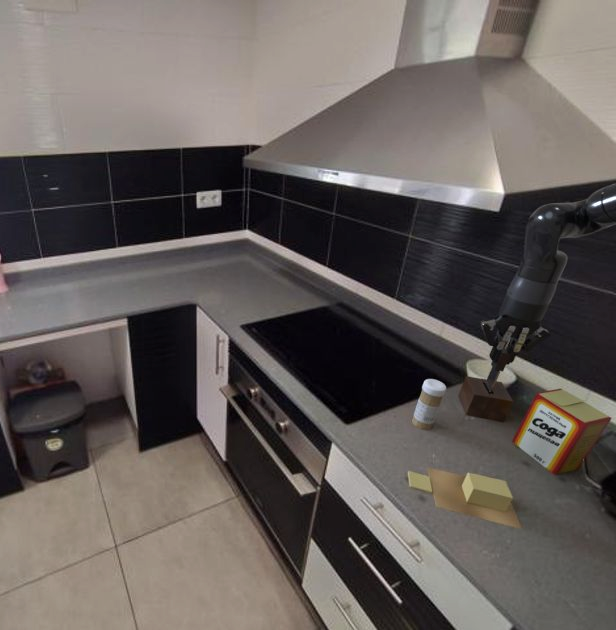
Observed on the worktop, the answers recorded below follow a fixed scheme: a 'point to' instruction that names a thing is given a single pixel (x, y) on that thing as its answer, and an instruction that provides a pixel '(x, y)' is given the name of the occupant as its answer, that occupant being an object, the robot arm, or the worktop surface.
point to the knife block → (484, 399)
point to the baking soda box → (560, 430)
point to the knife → (497, 370)
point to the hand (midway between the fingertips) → (499, 361)
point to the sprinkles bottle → (428, 403)
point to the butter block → (487, 492)
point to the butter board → (453, 499)
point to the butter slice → (419, 482)
